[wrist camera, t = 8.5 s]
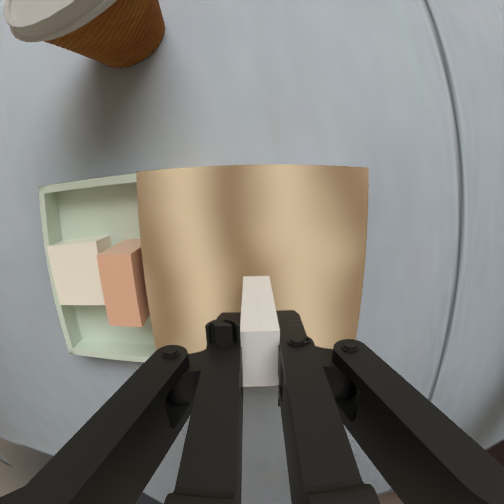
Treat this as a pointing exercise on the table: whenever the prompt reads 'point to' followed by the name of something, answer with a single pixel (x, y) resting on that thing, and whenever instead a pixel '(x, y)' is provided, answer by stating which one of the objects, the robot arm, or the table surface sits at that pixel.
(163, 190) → the tan wooden flat block
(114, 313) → the terracotta tile
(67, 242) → the cream tile
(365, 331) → the table surface
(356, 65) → the table surface
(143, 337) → the tray
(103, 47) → the disposable coffee cup
